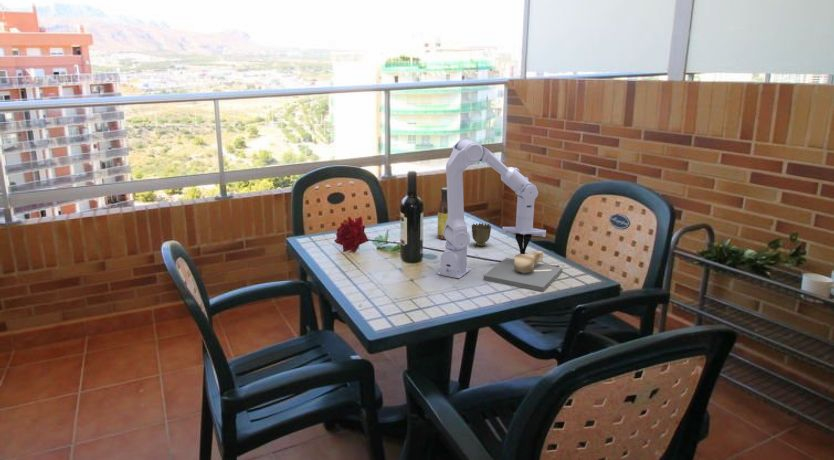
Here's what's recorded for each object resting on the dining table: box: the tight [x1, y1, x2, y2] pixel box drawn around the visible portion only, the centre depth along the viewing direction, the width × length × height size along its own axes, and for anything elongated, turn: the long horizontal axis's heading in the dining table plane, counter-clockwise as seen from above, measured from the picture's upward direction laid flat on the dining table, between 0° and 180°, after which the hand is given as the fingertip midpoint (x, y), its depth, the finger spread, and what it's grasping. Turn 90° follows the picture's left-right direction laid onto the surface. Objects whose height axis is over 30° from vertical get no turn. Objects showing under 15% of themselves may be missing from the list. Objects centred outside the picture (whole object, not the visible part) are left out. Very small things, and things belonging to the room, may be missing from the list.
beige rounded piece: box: [514, 250, 544, 272], centre depth 203 cm, size 13×6×4 cm, turn 135°
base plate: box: [483, 257, 563, 293], centre depth 202 cm, size 20×20×2 cm
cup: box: [471, 222, 492, 248], centre depth 231 cm, size 8×7×8 cm
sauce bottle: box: [437, 187, 448, 240], centre depth 239 cm, size 7×6×20 cm
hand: (522, 254), depth 211 cm, fingers closed
